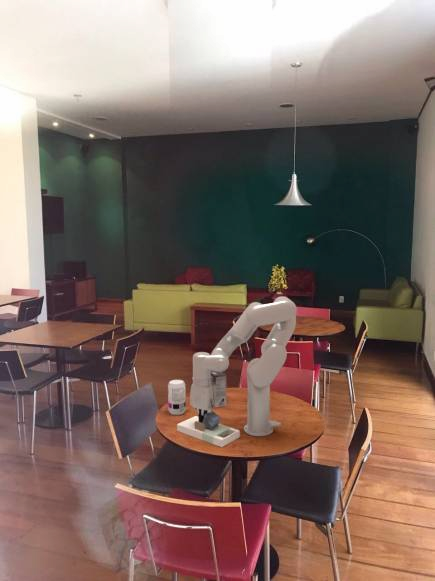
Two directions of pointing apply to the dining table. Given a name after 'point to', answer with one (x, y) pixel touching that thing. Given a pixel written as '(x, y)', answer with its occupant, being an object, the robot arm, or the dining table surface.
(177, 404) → the supplement can
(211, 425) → the block
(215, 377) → the coffee box
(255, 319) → the robot arm
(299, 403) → the dining table surface
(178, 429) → the board
